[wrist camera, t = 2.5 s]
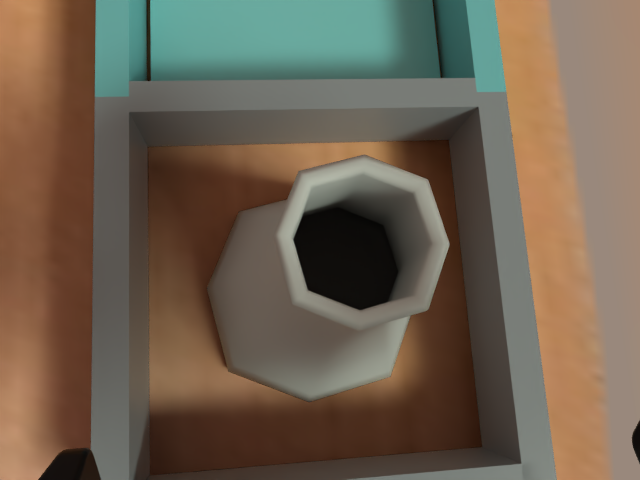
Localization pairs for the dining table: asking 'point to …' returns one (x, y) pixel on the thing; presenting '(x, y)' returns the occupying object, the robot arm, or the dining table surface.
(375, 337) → the flask
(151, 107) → the tray
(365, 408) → the dining table surface
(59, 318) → the dining table surface
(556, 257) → the dining table surface
